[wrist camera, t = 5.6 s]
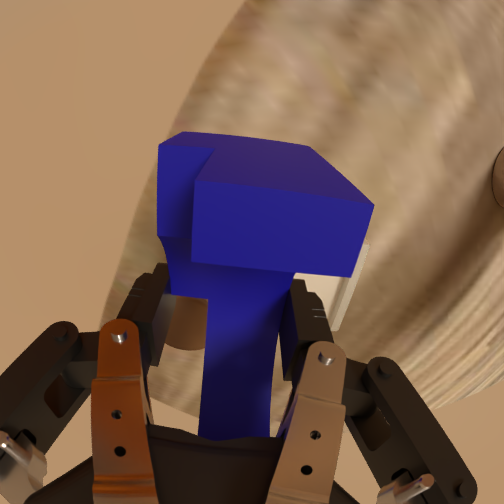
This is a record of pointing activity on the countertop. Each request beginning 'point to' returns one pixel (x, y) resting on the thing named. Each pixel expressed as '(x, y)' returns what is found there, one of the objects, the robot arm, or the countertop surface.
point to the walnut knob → (188, 324)
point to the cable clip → (249, 254)
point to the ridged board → (335, 289)
